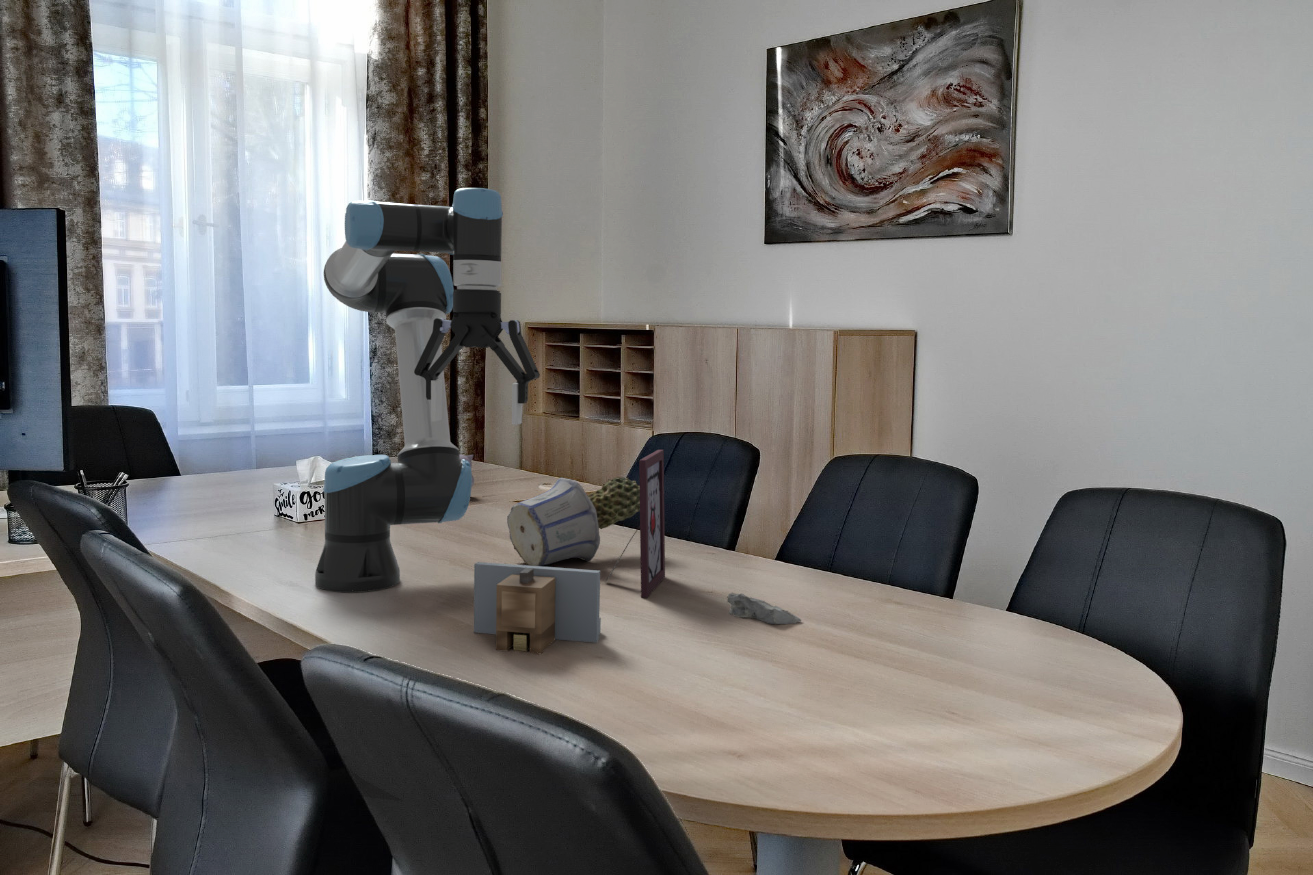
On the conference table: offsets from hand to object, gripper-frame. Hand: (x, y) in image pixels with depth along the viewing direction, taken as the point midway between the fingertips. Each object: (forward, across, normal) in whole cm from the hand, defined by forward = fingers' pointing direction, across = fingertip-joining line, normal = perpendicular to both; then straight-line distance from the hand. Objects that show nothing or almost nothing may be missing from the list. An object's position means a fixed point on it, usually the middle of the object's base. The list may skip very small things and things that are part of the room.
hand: (476, 422), depth 171 cm
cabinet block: (+33, +12, -10) cm, 36 cm away
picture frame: (+33, +19, +31) cm, 49 cm away
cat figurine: (+33, -49, +113) cm, 128 cm away
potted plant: (+33, +4, +50) cm, 60 cm away
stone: (+33, +46, +15) cm, 59 cm away
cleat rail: (+33, +12, -9) cm, 36 cm away
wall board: (+33, +12, -3) cm, 35 cm away
